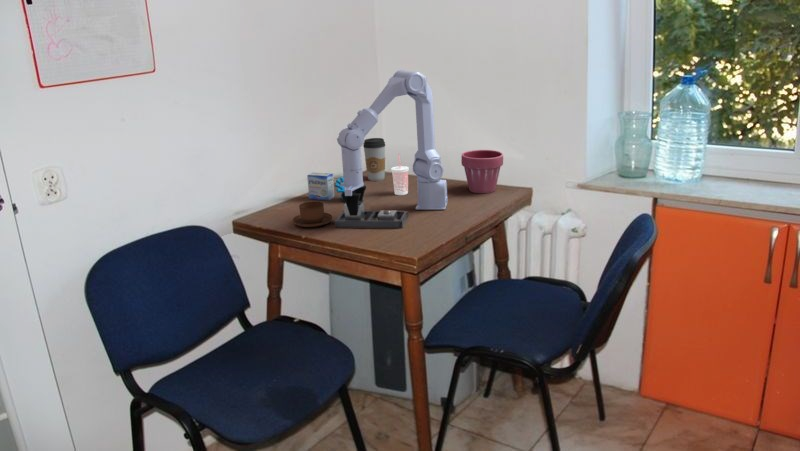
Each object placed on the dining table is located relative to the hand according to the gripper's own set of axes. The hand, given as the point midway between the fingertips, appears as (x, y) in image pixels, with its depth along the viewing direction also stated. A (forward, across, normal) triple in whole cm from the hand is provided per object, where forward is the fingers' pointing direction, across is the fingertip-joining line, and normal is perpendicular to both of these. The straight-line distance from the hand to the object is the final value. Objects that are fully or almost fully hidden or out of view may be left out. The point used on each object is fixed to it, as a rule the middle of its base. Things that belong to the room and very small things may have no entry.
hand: (355, 212), depth 206 cm
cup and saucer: (+3, +2, -13) cm, 14 cm away
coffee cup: (+3, -52, -5) cm, 53 cm away
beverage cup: (+3, -32, +8) cm, 34 cm away
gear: (+3, -25, -8) cm, 26 cm away
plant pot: (+3, -36, +36) cm, 52 cm away
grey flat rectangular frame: (+3, 0, +5) cm, 6 cm away
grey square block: (+2, 0, 0) cm, 2 cm away
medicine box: (+3, -26, -19) cm, 33 cm away
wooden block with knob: (+3, 0, +10) cm, 10 cm away
